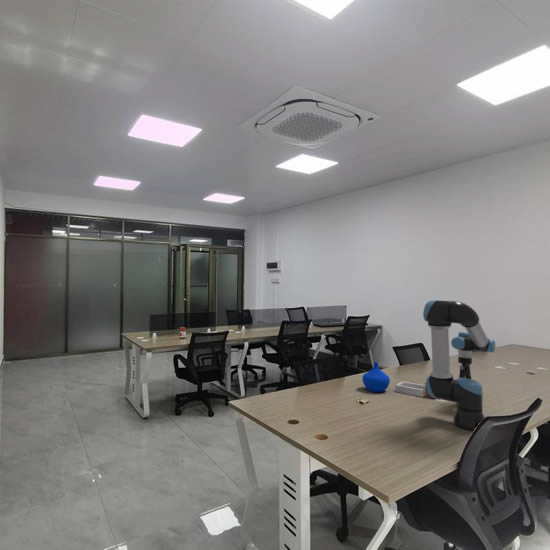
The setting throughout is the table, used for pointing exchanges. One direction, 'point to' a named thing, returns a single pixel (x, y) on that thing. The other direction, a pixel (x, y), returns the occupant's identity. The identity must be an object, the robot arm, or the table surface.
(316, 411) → the table surface
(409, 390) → the lane
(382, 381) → the vase
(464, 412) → the robot arm
